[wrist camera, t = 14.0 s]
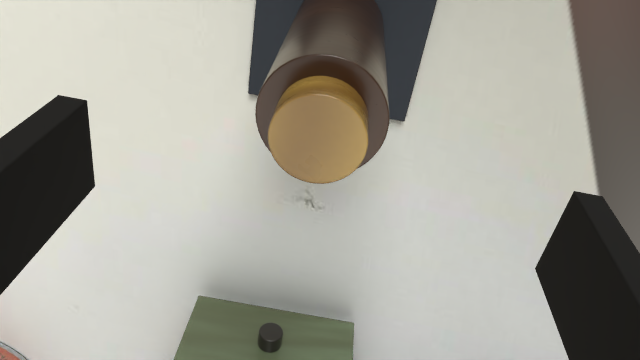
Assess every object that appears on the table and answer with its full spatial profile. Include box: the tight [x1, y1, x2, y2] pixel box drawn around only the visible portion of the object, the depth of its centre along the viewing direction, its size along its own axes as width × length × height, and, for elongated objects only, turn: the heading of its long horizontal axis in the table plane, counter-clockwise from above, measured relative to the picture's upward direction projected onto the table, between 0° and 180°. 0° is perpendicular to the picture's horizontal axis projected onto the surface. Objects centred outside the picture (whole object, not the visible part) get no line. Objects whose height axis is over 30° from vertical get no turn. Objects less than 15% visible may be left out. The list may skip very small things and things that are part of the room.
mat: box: [248, 0, 437, 121], centre depth 27 cm, size 9×9×1 cm
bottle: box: [256, 0, 389, 183], centre depth 22 cm, size 5×5×13 cm
